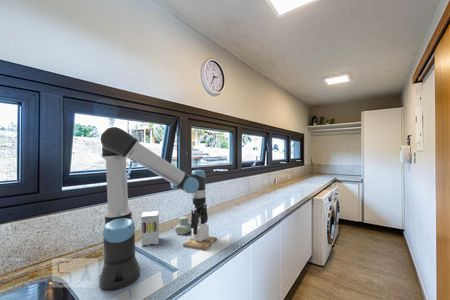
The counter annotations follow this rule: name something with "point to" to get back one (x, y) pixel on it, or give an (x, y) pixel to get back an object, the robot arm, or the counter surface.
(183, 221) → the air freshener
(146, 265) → the counter surface
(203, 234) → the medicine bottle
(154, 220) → the supplement box
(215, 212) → the counter surface
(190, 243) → the trivet
